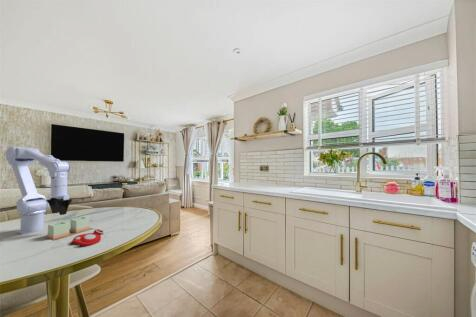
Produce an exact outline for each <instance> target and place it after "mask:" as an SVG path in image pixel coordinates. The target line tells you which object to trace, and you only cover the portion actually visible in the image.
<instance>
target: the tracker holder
mask: <svg viewBox="0 0 476 317" xmlns="http://www.w3.org/2000/svg"><path fill="white" fill-rule="evenodd" d="M93 230H94V231H93V232H90V233H89V232H88V233H81V234H77V235H76V236H74V237H73V238H72V240H71V242H70V244H72V245H73V244H76V245H78V246H81V247H90V246H93V245H96V244H98V243H99V242H100V241H101V240H102V235H104V234H105V232H104V230H103V229H97V228H93Z"/></svg>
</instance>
